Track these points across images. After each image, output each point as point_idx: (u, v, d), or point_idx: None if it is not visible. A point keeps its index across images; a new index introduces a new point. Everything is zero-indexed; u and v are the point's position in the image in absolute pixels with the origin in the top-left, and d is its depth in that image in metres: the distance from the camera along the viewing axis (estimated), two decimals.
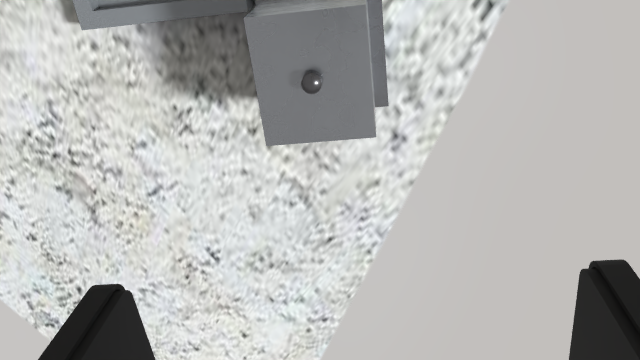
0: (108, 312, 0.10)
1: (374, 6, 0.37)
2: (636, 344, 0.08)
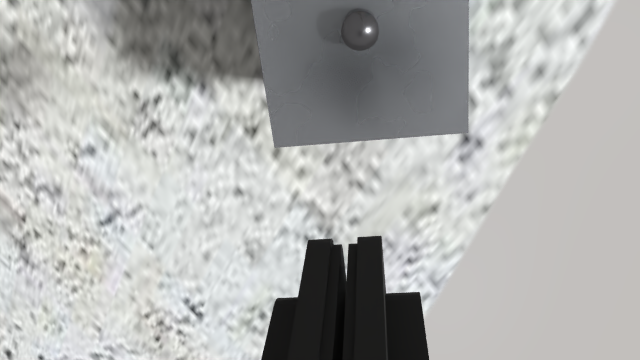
0: (335, 263, 0.11)
1: None
2: (350, 302, 0.10)
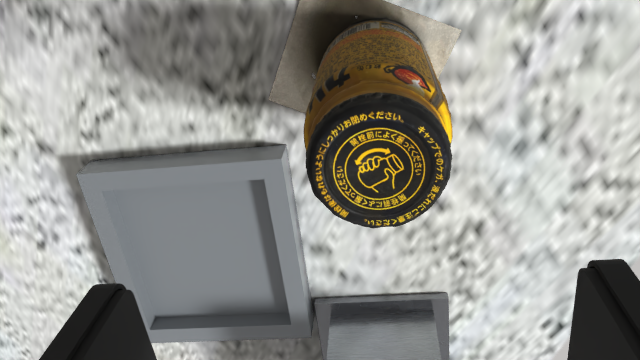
0: (109, 311, 0.10)
1: (440, 327, 0.36)
2: (634, 343, 0.08)
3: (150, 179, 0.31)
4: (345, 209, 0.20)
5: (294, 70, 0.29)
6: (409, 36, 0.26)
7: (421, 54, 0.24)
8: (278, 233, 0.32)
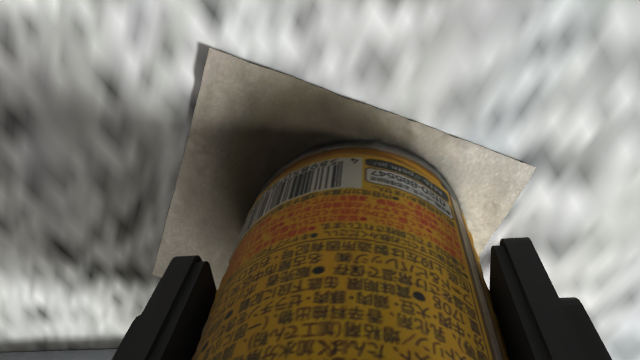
0: (193, 280, 0.11)
1: None
2: (521, 308, 0.09)
3: None
4: None
5: (196, 228, 0.15)
6: (429, 201, 0.11)
7: (463, 279, 0.10)
8: None
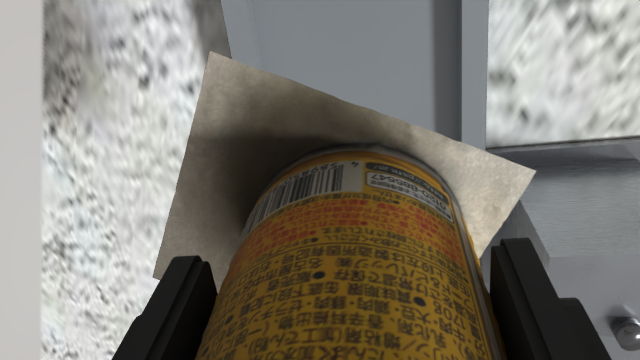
0: (193, 280, 0.11)
1: None
2: (522, 308, 0.09)
3: None
4: None
5: (196, 231, 0.15)
6: (430, 204, 0.11)
7: (464, 284, 0.10)
8: (467, 38, 0.25)
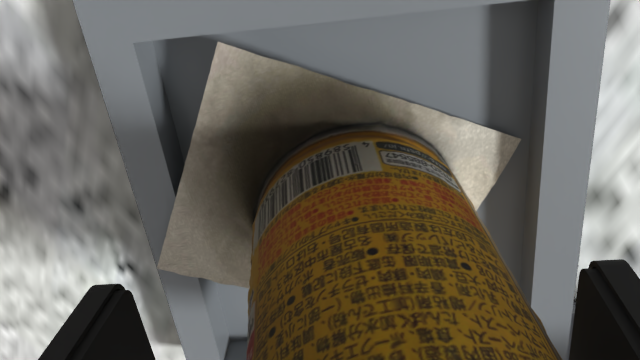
0: (108, 312, 0.10)
1: None
2: (636, 344, 0.08)
3: (257, 6, 0.12)
4: None
5: (202, 219, 0.15)
6: (441, 177, 0.12)
7: (489, 247, 0.11)
8: (553, 148, 0.14)
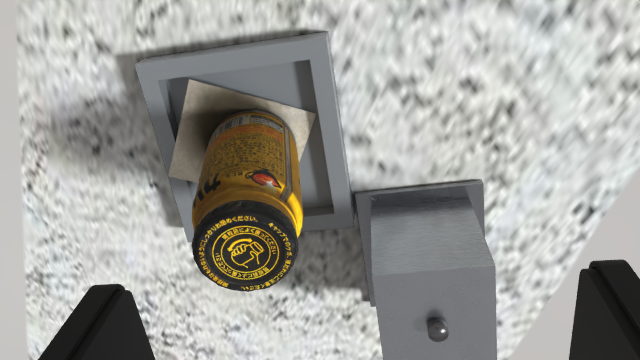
0: (108, 312, 0.10)
1: (476, 215, 0.38)
2: (636, 344, 0.08)
3: (203, 65, 0.33)
4: (225, 281, 0.27)
5: (186, 152, 0.36)
6: (273, 126, 0.33)
7: (280, 146, 0.31)
8: (322, 116, 0.34)
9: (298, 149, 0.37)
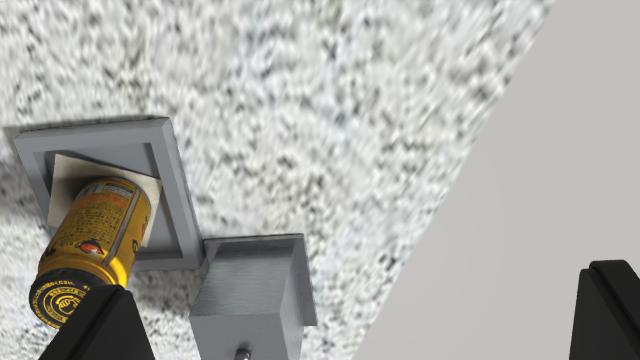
0: (108, 312, 0.10)
1: (301, 261, 0.47)
2: (636, 344, 0.08)
3: (67, 143, 0.42)
4: (57, 325, 0.36)
5: (60, 207, 0.44)
6: (122, 194, 0.42)
7: (121, 213, 0.40)
8: (165, 184, 0.43)
9: (152, 206, 0.45)
